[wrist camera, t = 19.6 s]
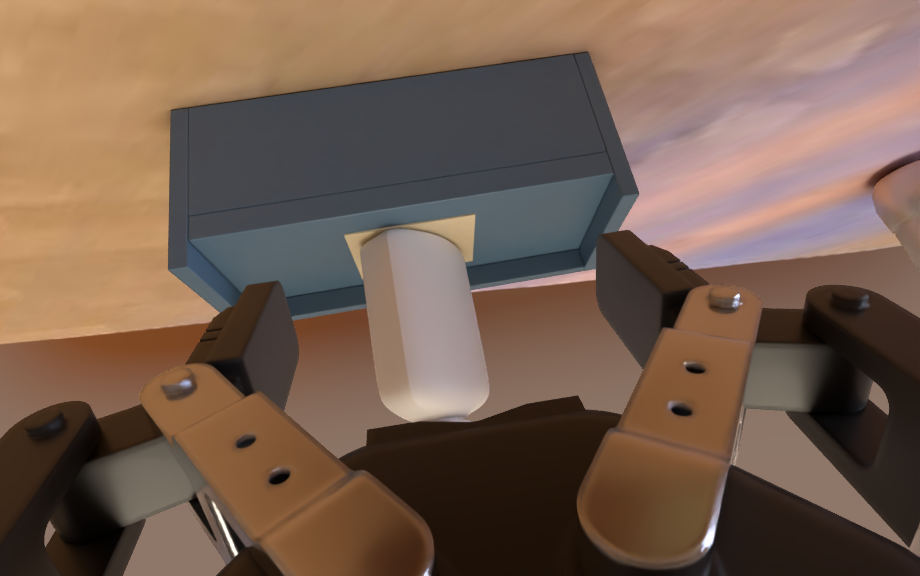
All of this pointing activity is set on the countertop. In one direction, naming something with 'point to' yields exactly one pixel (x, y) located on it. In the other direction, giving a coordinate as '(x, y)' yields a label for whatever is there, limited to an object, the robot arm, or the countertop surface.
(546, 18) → the countertop surface
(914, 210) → the plastic bottle
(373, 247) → the eye dropper bottle
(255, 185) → the shelf
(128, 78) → the countertop surface
